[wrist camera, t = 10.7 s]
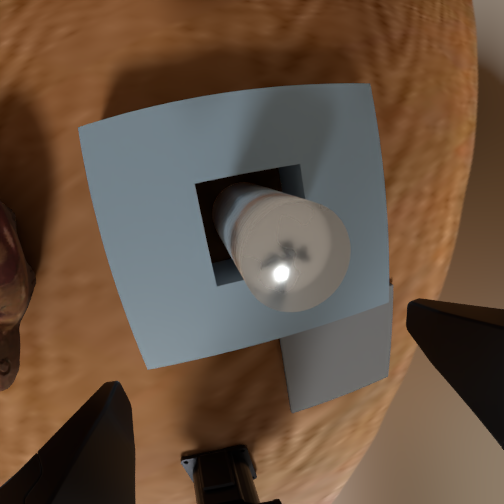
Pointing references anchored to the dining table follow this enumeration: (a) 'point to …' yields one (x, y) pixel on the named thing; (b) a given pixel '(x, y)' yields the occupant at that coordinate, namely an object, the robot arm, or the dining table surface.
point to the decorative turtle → (12, 295)
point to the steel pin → (282, 245)
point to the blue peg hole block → (190, 221)
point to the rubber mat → (337, 356)
